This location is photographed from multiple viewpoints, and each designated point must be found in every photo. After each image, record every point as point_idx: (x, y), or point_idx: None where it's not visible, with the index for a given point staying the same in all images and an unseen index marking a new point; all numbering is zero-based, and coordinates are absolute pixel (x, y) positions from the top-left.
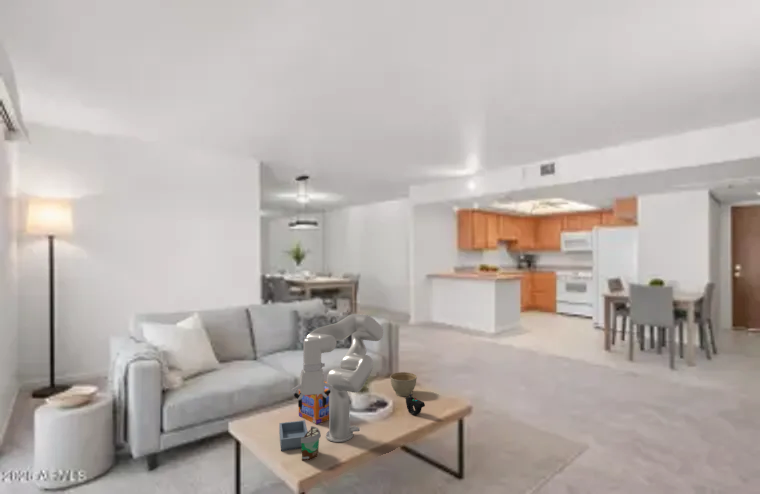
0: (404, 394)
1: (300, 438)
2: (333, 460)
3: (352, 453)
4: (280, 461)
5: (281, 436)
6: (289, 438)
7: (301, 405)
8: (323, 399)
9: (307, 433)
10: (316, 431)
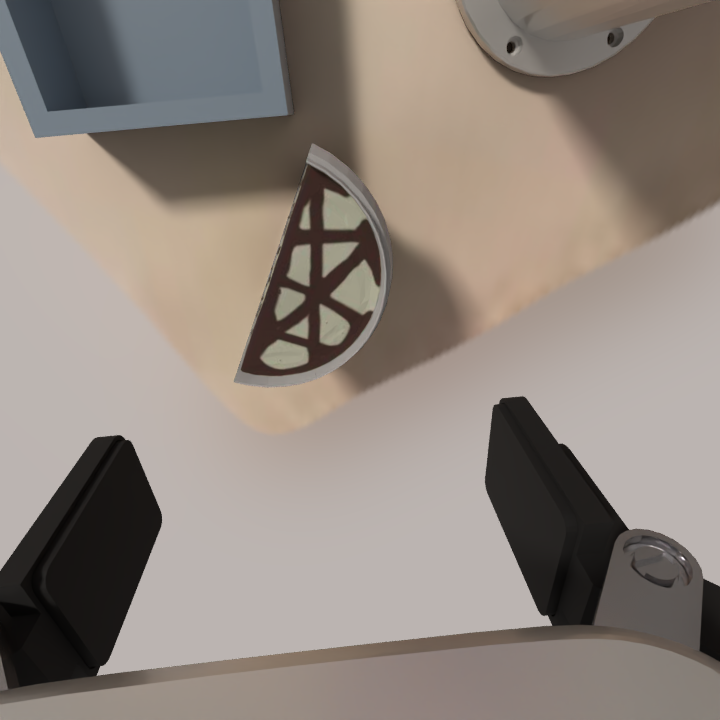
0: None
1: (215, 121)
2: (439, 322)
3: (562, 263)
4: (129, 282)
5: (11, 57)
6: (112, 128)
7: (134, 581)
8: (539, 597)
9: (278, 294)
10: (359, 249)
